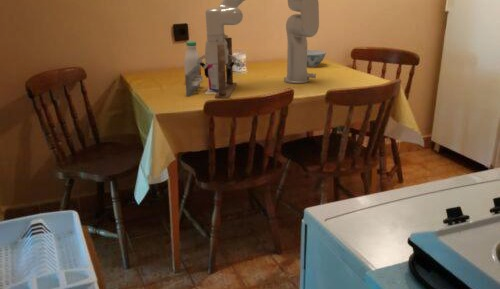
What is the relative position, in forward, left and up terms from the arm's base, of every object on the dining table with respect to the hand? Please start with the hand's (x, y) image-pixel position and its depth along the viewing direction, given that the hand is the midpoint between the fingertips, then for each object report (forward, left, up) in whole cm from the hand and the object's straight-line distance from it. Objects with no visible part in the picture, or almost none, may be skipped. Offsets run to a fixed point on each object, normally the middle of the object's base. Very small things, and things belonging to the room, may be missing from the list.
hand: (218, 77), depth 200 cm
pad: (0, 0, -7) cm, 7 cm away
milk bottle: (+15, -17, -7) cm, 24 cm away
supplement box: (0, 0, -6) cm, 6 cm away
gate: (-4, 0, -6) cm, 7 cm away
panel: (+10, 0, -7) cm, 12 cm away
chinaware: (-43, -62, -7) cm, 75 cm away
